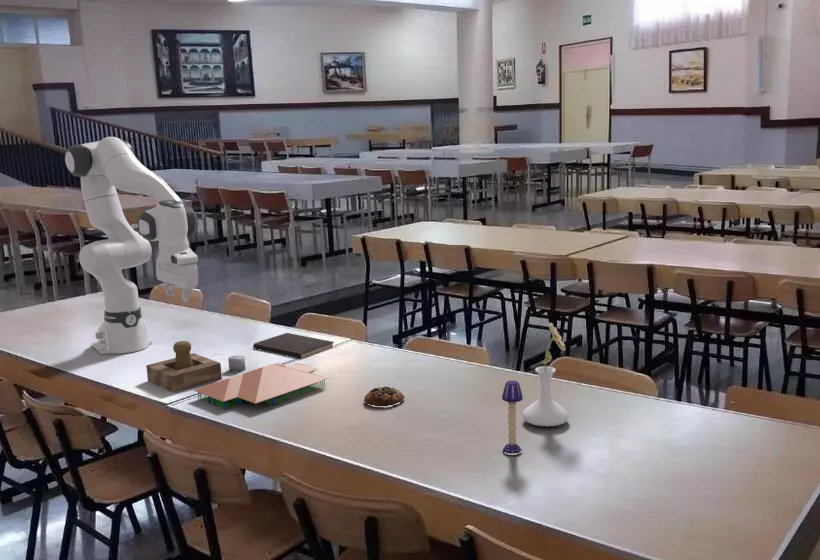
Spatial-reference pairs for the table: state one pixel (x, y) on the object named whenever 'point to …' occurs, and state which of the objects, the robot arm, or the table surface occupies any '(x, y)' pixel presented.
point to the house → (262, 384)
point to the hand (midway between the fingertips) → (177, 298)
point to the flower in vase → (546, 394)
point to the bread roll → (384, 396)
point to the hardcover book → (293, 345)
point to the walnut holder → (184, 373)
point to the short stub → (236, 363)
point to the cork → (182, 355)
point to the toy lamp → (512, 413)
